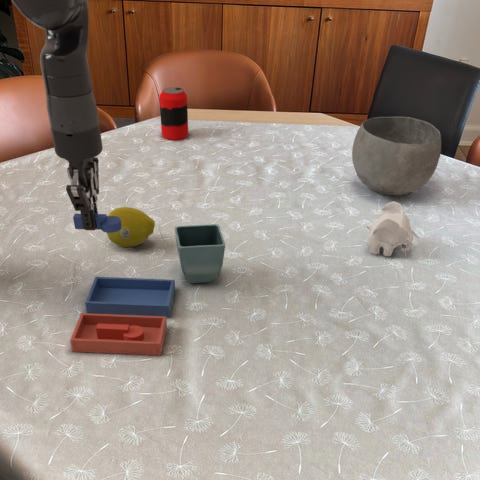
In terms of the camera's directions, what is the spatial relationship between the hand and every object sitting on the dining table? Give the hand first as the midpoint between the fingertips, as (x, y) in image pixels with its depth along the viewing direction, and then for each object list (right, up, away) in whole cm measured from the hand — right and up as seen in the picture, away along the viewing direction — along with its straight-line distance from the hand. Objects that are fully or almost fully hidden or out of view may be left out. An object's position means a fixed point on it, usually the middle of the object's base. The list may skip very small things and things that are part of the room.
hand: (91, 226), depth 113 cm
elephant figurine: (+58, +3, +26) cm, 63 cm away
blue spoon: (+1, 0, 0) cm, 1 cm away
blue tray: (+6, -11, +9) cm, 16 cm away
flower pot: (+18, -5, +17) cm, 25 cm away
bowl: (+63, +24, +49) cm, 83 cm away
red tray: (+5, -20, +1) cm, 20 cm away
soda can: (+7, +48, +73) cm, 88 cm away
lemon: (+2, +4, +26) cm, 26 cm away
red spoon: (+5, -19, 0) cm, 20 cm away
